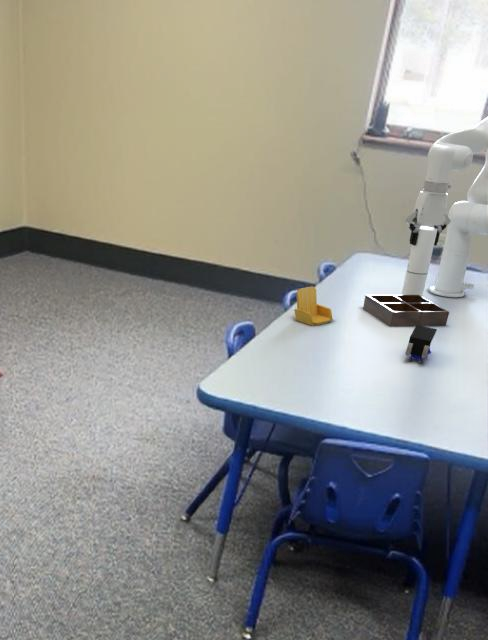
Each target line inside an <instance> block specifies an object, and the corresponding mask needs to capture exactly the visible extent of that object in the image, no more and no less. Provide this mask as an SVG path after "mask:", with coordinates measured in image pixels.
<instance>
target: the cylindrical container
mask: <svg viewBox="0 0 488 640" xmlns="http://www.w3.org/2000/svg"><path fill="white" fill-rule="evenodd" d="M417 233H418V238H417V242H416V245H412V244H411V248H410V252H409V258H408V262H407V267H406V271H405V276H404V280H403V286H402V290H401V295H420V296H422V297H424V291H425V286H426V282H427V279H428V275H429V274H428V273H429V269H430V264H431V261H432V256H433V251H434V248H435V247H434V243H435V238H436V234H437V228H434V226H429V225H421V227H420V228H419V230H418V231H417Z"/></svg>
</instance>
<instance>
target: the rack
mask: <svg viewBox="0 0 488 640" xmlns="http://www.w3.org/2000/svg"><path fill="white" fill-rule="evenodd" d="M362 309H363V310H365V311H366V312H367V313H369V314H371V315H372V316H374V317H375V318H377V319H378V320H380V321H382V322H383V323H384V324H386V325H387V326H389V327H416V325H419V326H424V327H446V326H447V323H448V319H449V315H450V311H449V310H447V309H445V308H444V307H442V306H440V305H438V304H436V303H435V302H433V301H431V300H429V299H427V298H426V297H424V296H420V295H402V294H365V295H364V301H363V306H362Z"/></svg>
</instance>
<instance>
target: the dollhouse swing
mask: <svg viewBox="0 0 488 640" xmlns="http://www.w3.org/2000/svg"><path fill="white" fill-rule="evenodd" d="M295 295H296V308H294V317H295V321H296V322H300V323H303V324H305V325H309V326H311V327H313V326H320V325H323V324H324V325H325V324H328V323H331V322H332V321H334V320H333V313H332V308H330V307H328V306H325V305H322V304H318V302H317V299H318V298H317V289H316V287H314V286H307V287H302V288H298V289H297V291H296V293H295Z"/></svg>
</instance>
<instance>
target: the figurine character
mask: <svg viewBox="0 0 488 640" xmlns="http://www.w3.org/2000/svg"><path fill="white" fill-rule="evenodd" d="M437 331H438V330H437V328H433V327H430V326H419V325H416V326H414V329H413V331H412V332H411V334H410V336H409V340H408V343H407V346H406V349H405V355H406V356H409V358H408V361H409V362H412V361H413V359H414V360H419V361H418V364H421V363H422V361H423V359H427V358H428V355H430V354H432V351H431V344H432V341H433V340H434V338H435V336H436V333H437Z"/></svg>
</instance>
